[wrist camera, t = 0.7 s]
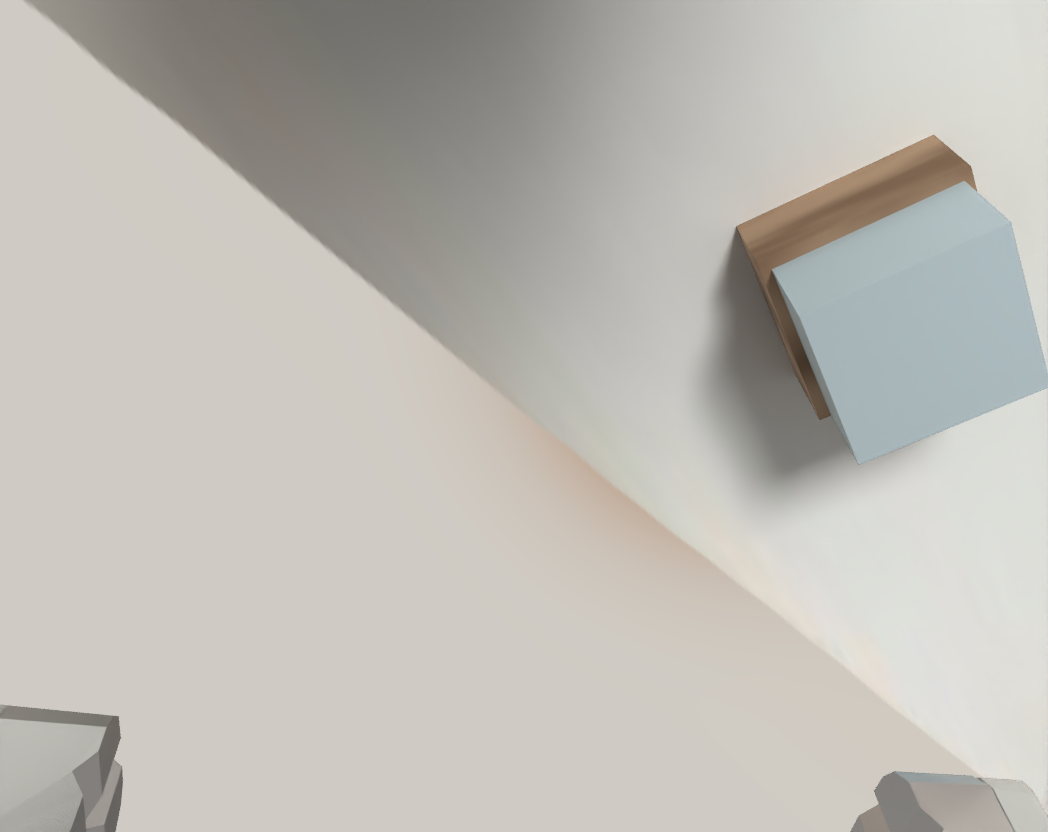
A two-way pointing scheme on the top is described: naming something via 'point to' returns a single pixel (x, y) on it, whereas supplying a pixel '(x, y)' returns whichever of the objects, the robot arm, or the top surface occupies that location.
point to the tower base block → (842, 226)
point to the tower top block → (916, 321)
